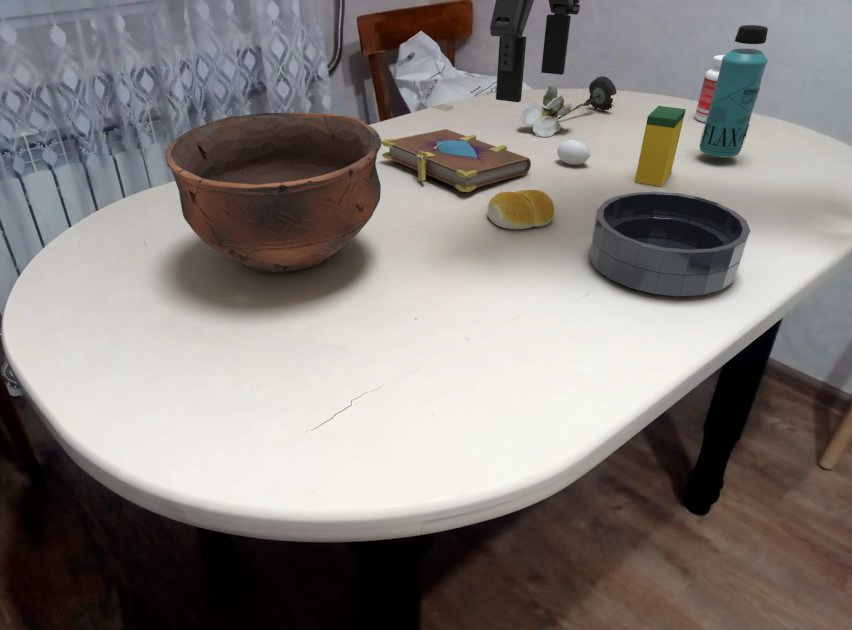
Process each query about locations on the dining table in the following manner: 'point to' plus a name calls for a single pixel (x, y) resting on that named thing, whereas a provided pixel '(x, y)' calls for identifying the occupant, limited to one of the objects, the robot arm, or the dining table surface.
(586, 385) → the dining table surface
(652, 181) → the sponge
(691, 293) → the wash bowl
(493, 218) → the bread roll
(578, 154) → the egg
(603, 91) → the artificial flower
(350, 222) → the bowl
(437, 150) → the book
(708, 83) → the pill bottle
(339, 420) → the dining table surface
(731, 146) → the beverage bottle
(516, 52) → the robot arm
